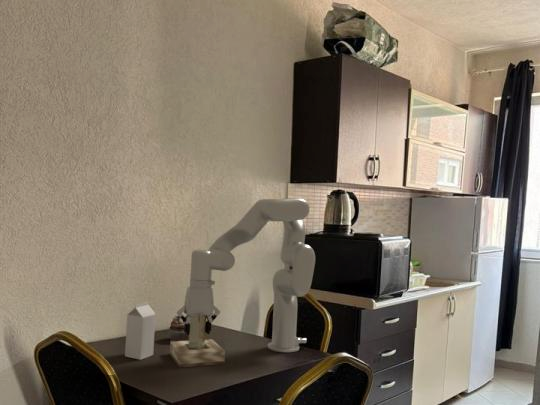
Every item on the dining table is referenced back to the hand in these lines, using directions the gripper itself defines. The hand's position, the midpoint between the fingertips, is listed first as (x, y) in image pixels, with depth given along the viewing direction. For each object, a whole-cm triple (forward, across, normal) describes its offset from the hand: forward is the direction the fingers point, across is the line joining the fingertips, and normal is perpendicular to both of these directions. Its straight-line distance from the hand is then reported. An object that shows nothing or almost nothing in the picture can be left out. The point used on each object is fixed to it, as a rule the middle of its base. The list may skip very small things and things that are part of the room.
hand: (197, 333), depth 175 cm
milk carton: (+9, +19, -8) cm, 23 cm away
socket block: (+9, 0, 0) cm, 9 cm away
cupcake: (+9, 0, -26) cm, 27 cm away
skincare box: (+5, 0, 0) cm, 5 cm away
